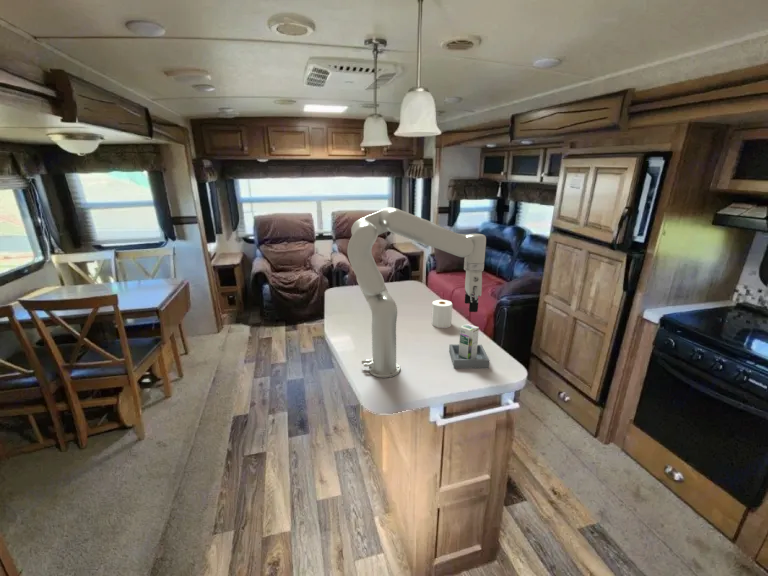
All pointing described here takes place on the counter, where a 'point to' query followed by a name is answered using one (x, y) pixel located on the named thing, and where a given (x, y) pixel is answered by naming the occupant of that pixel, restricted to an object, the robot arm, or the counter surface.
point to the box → (479, 362)
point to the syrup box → (468, 342)
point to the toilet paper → (441, 313)
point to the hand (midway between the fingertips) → (470, 307)
